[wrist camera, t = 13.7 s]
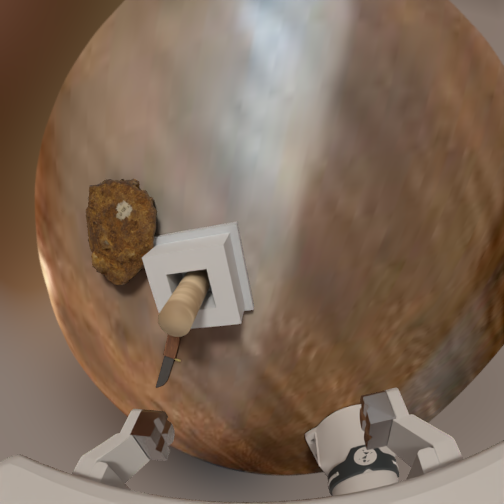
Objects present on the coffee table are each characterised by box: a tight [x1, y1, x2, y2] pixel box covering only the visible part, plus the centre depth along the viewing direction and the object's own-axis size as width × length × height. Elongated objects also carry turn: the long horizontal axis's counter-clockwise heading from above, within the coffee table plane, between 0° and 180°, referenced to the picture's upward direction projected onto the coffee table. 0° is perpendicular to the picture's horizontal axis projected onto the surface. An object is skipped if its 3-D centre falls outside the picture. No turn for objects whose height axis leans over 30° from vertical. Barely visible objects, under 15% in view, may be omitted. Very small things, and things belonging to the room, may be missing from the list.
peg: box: [158, 269, 210, 337], centre depth 34 cm, size 3×3×12 cm
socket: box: [142, 222, 254, 329], centre depth 38 cm, size 12×12×6 cm
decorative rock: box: [86, 179, 157, 285], centre depth 39 cm, size 11×4×15 cm
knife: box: [156, 334, 181, 388], centre depth 46 cm, size 17×1×3 cm
